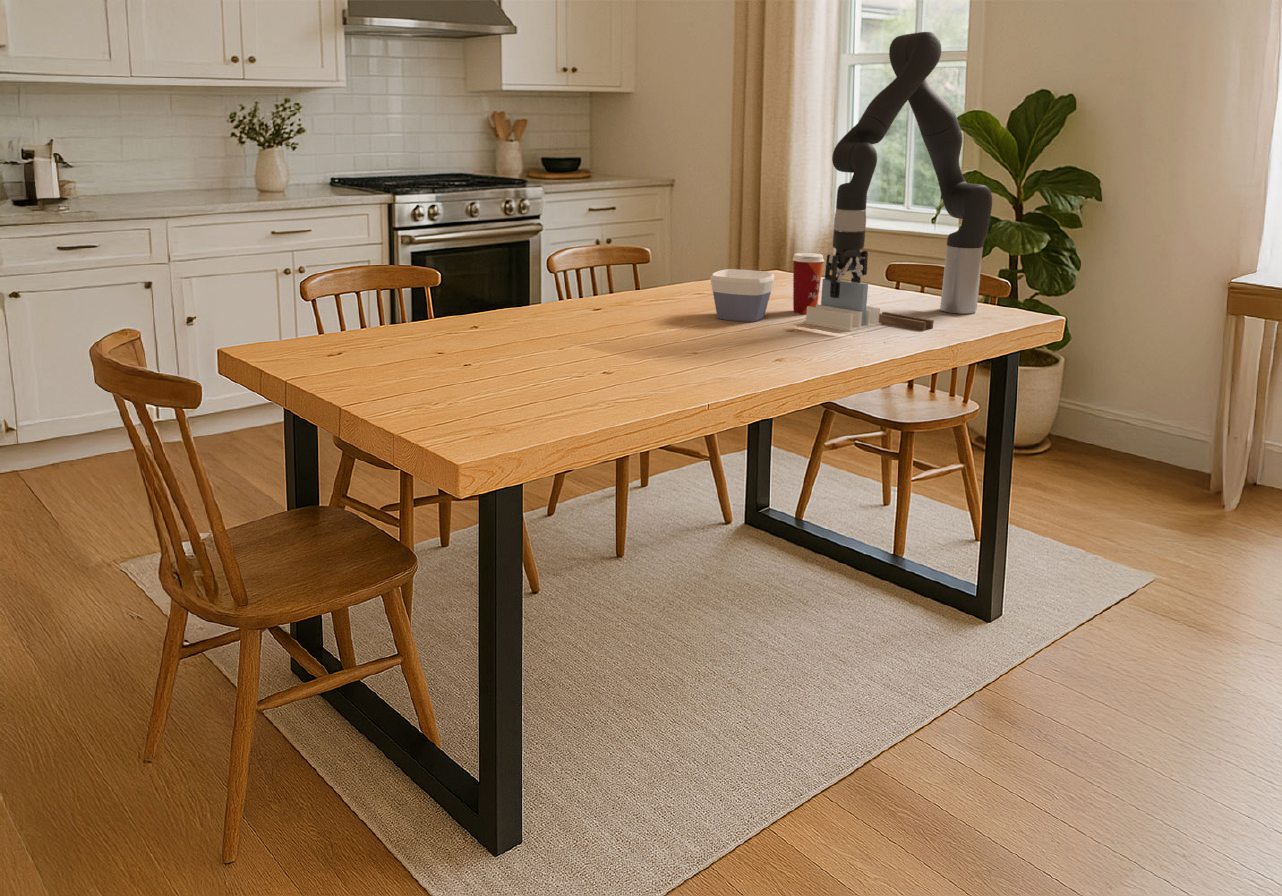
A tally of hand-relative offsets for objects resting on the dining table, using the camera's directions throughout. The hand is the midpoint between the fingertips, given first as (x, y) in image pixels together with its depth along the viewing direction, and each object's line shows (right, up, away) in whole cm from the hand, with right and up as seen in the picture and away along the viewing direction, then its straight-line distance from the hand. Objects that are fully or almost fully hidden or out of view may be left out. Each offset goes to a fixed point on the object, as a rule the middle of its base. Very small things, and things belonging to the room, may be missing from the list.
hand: (844, 295), depth 265 cm
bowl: (-24, -4, +12) cm, 27 cm away
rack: (0, -7, +2) cm, 8 cm away
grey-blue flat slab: (0, -6, +2) cm, 7 cm away
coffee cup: (-7, -2, +21) cm, 22 cm away
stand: (+15, -8, +2) cm, 17 cm away
